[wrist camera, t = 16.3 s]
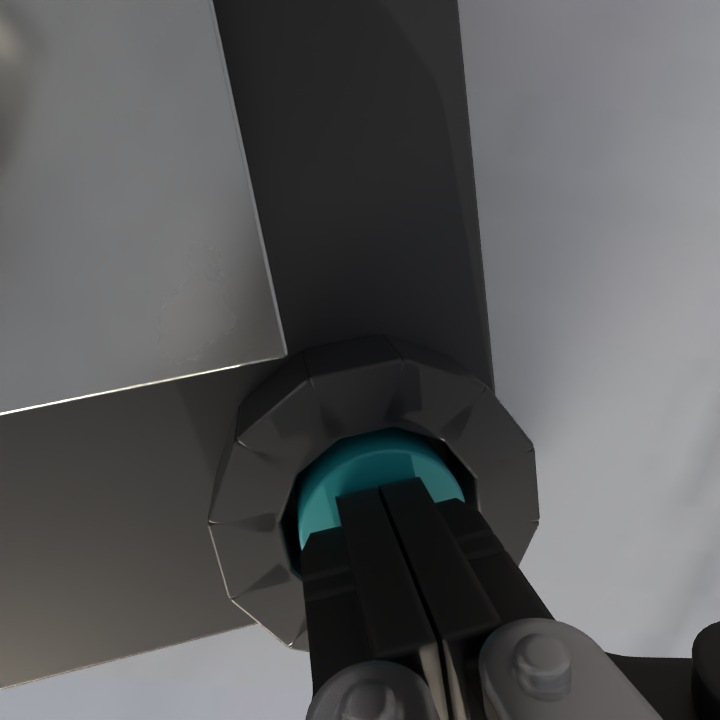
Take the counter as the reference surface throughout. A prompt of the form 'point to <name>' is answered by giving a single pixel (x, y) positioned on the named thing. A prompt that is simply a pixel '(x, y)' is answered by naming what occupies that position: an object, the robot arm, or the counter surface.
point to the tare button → (367, 474)
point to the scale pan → (124, 203)
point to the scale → (281, 376)
